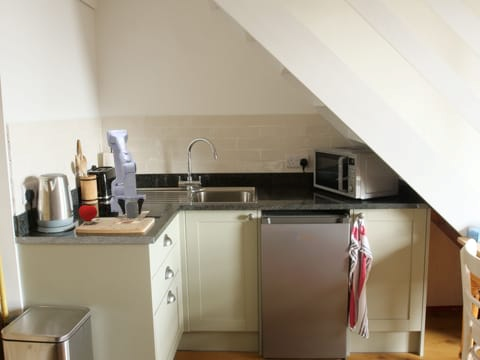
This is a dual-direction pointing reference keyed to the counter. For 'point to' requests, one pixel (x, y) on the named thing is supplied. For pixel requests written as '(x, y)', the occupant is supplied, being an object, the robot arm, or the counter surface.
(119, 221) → the socket board
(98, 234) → the counter surface
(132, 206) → the plug
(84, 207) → the red heart ornament
